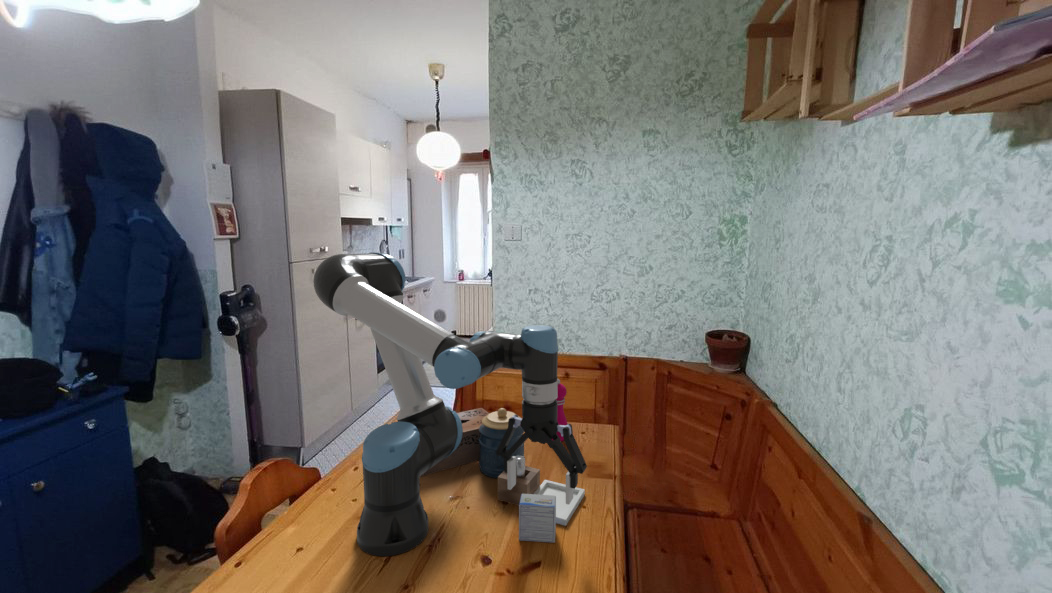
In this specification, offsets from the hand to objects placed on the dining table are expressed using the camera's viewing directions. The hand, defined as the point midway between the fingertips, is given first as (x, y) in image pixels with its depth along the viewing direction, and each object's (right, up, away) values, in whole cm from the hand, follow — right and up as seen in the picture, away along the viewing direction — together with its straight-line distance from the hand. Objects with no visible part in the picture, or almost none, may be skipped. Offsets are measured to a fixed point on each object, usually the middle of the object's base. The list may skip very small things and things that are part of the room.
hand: (539, 493), depth 98 cm
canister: (-10, -6, +31) cm, 33 cm away
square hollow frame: (-5, -8, +17) cm, 19 cm away
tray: (+4, -8, +14) cm, 16 cm away
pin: (-5, -8, +17) cm, 19 cm away
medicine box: (-1, -10, +2) cm, 10 cm away
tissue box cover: (-25, -5, +39) cm, 46 cm away
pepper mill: (+7, -4, +51) cm, 51 cm away
